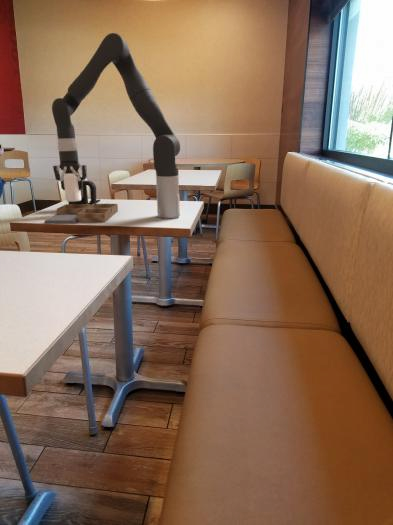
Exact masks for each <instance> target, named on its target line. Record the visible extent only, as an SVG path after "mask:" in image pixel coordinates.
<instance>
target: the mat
mask: <svg viewBox="0 0 393 525" xmlns="http://www.w3.org/2000/svg"><path fill="white" fill-rule="evenodd" d="M76 223H78V222H77V215H73V214H57V213H56V214H54V215H52V216H51V217H48V218H47V219H44V224H76Z"/></svg>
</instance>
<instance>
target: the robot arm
mask: <svg viewBox="0 0 393 525" xmlns="http://www.w3.org/2000/svg"><path fill="white" fill-rule="evenodd" d="M111 63H112V65H113V66H114V67H115V69H116V70H117V72H118V73H119V75H120V76H121V79H122V80H123V84H124V87H125V90H126V94H127V96H128V100H129V101H130V103H131V104H132V107H133V109H134V111H135V112H136V113H137V115H138V116H139V117H140V118H141V120H142V121H144V123H145V124H146V125H147V126H148V127H149V129H150V130H151V131H152V133H153V135H154V137H155V139H154V140H153V144H152V145H153V146H152V155H153V166H154V167H153V168H154V171H155V175H156V176H155V177H156V178H155V179H156V180H155V181H156V204H157V205H156V206H157V208H156V209H157V217H158V218H159V219H177V218H178V219H179V218H180V216H181V215H180V214H181V212H180V210H181V208H180V206H181V205H180V192H179V191H180V189H179V188H180V187H179V186H180V184H179V168H178V167H177V165H176V157H177V156H178V155H179V153H180V151H181V143H180V141H179V138H178V137H177V135H176V134H175V133H174V131H173V129H172V128H171V127H170V125H169V124H168V122H167V120H166V118H165V115H164V113H163V112H162V110H161V107H160V105H159V103H158V101H157V100H156V97H155V96H154V94H153V92H152V90H151V87H150V86H149V85H148V83H147V81H146V80H145V78H144V76H143V75H142V73H141V72H140V70H139V69H138V67H137V65H136V62H135V60H134V57H133V55H132V53H131V49H130V47H129V45H128V44H127V42H126V41H125V39H124V38H123V37H122V36H121V35H120V34H118V33H116V32H112V33H108V34H106V35H105V37H104V38H103V39H102V41H101V43H100V44H99V45H98V47H97V49H96V50H95V52H94V54H93V55H92V57H91V59H90V60H89V61H88V63H87V64H86V66H85V67H84V68H83V69H82V71H80V73H79V74H78V75H77V77H76V78H75V79H74V80H73V81H72V83H71V84H70V85H69V86H68V87H67V92H66V93H65V94H64V96H63V97H62V98H60V97H59V98H58V97H57V98H55V99H54V100H53V102H52V104H51V111H52V112H51V113H52V115H53V120H54V123H55V126H56V135H57V150H58V156H59V164H58V165H57V164H55V165H53V166H52V168H53V169H52V170H53V173H54V178H55V180H56V181H59V182H60V186H61V189H62V190H63V191H65V187H64V179H63V177H64V173H74V174H75V176H77V179H78V186H79V190H82V188H83V180H84V179H85V180H86V179H87V176H88V175H87V167H88V166H87V165H86V164H80V162H79V154H78V144H77V141H76V134H75V133H76V132H75V127H74V126H75V125H74V124H73V123H72V119H71V116H72V115H73V114H74V113H75V112H76V111H77V109H78V108H79V106H80V104H81V103H82V102H83V100H84V99H85V98H86V97H87V96H88V95H89V94H90V93H91V91H93V89H94V88H95V86H96V84H97V83H98V81H99V78H100V76H101V74H102V73H103V71H105V69H106V68H107V67H108V66H109V65H110V64H111ZM60 170H61V171H62V172H61V174H60ZM79 170H81V173H80V171H79Z"/></svg>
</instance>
